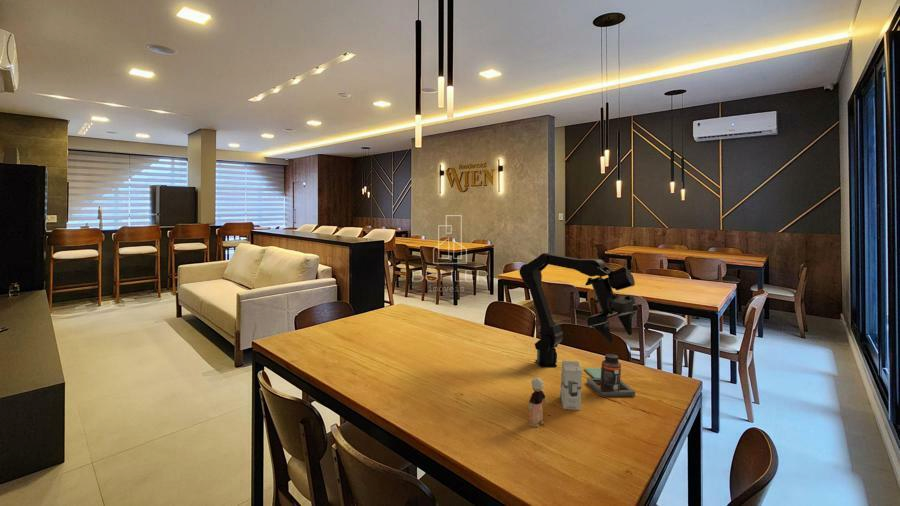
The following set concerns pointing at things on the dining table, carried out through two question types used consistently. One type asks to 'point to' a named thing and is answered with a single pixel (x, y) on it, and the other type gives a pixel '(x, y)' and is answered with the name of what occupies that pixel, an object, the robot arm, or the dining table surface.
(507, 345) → the dining table surface
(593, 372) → the pad
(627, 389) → the grey square frame
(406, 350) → the dining table surface
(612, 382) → the supplement bottle
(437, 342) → the dining table surface
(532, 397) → the grandmother figurine
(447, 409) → the dining table surface
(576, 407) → the ink box
